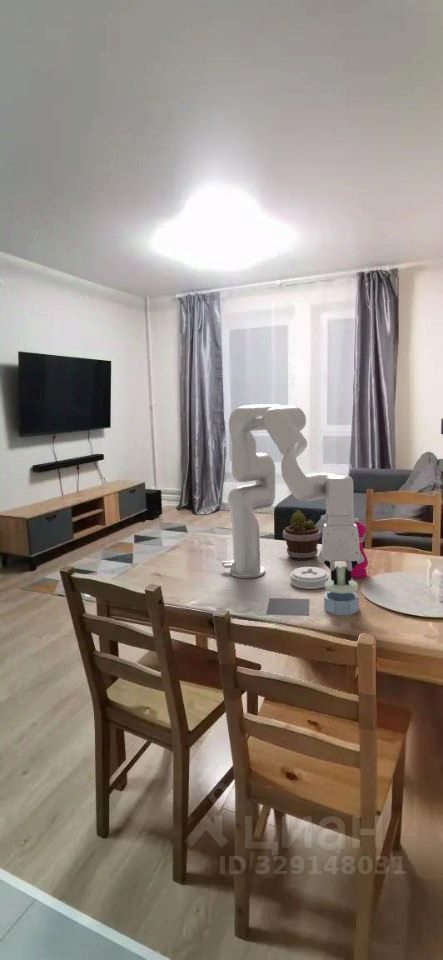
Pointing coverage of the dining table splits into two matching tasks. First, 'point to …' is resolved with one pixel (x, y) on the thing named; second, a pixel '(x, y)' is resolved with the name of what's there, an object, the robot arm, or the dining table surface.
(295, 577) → the lid
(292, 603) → the mat
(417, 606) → the dining table surface
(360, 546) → the pepper mill
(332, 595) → the bowl
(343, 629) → the dining table surface
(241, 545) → the robot arm
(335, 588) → the cover
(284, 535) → the flowerpot
